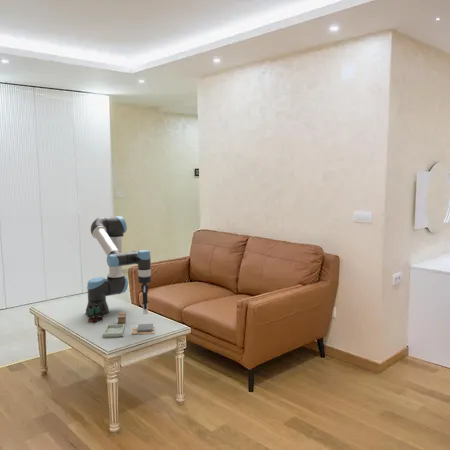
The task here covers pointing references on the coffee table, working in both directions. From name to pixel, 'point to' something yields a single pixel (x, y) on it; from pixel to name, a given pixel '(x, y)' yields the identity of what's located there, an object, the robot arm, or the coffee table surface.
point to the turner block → (122, 318)
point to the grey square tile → (144, 327)
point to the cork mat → (142, 332)
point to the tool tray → (114, 330)
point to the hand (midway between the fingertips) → (145, 313)
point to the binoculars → (94, 313)
